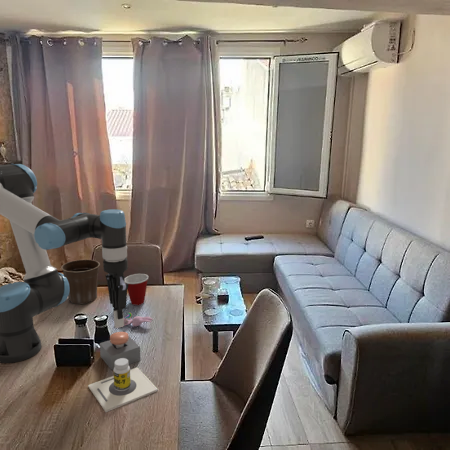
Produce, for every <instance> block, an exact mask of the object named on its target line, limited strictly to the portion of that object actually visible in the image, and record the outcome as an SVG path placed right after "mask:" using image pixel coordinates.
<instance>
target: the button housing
mask: <svg viewBox="0 0 450 450" xmlns="http://www.w3.org/2000/svg"><path fill="white" fill-rule="evenodd" d="M99 354H100V355H99V356H100V358H101V359H102V360H103V361H104V363H105V364H106V365H107V366H108V368H109V369H110V370H111V371H113V370H114V367H115V366H114V363H115V361H116V360H117V359H120V358H125V359H127V360H128V363H129V365H132V364H134V363H136V362H139V361H141V346H140V345H139V344H138V343H137V342H136V341H135V340H133V339H132V337H130V336H129V340H128V342H126V343H124V347H122V348H119V349H116V345H114V344H112V343H111V342H110V339H109V340H105V341H102V342H100V343H99Z"/></svg>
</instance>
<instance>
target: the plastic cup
mask: <svg viewBox="0 0 450 450" xmlns="http://www.w3.org/2000/svg"><path fill="white" fill-rule="evenodd" d="M124 278H125V281H124V283H125V284H128V289H127V295H128V296H129V300H130V304H131V305H133V306H141V305H144V303H145V299H146V295H147V294H146V293H147V285H148V280H149V275H148V274H145V273H134V274H130V275H128V276H126V277H124Z"/></svg>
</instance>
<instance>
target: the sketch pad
mask: <svg viewBox="0 0 450 450" xmlns="http://www.w3.org/2000/svg"><path fill="white" fill-rule="evenodd" d="M130 383H131V385H130V388H129V389H127V390H125V391H117V390H115V388H114V375H112V376H109V377H106V378H104V379H101V380H99V381H95V382H92V383H90V384H88V385H87V386H88V389H89V390H90V392H91V393H92V394H93V396H94V397H95V399H96V401H97V402H98V403H99V405H100V406H101V408H102V409H103V411H104V412H105V413H107V412H110V411H112V410H115V409H118V408H119V407H122V406H125V405H127V404H130V403H132V402H134V401H137V400H139V399H142V398H144V397H147V396H149V395H151V394H154V393H156V392H159V391H158V390H159V389H158V388H157V387H156V385H154V383H153V382H152V381H151V380H150V379H149V378H148V377H147V376H146V375H145V373H144V372H142V370H141V369H140V368H139V367H138V366H137V367H134V368H130Z"/></svg>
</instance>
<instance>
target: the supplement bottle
mask: <svg viewBox="0 0 450 450" xmlns="http://www.w3.org/2000/svg"><path fill="white" fill-rule="evenodd" d="M114 366H115V367H114V370H112V371H113V376H114V388H115V390H117V391H125V390H127V389H129V388H130V385H131V383H130V370H131V367H130V364H129V363H128V360H127V359H125V358H120V359H117V360H116V361H115V363H114Z"/></svg>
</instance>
